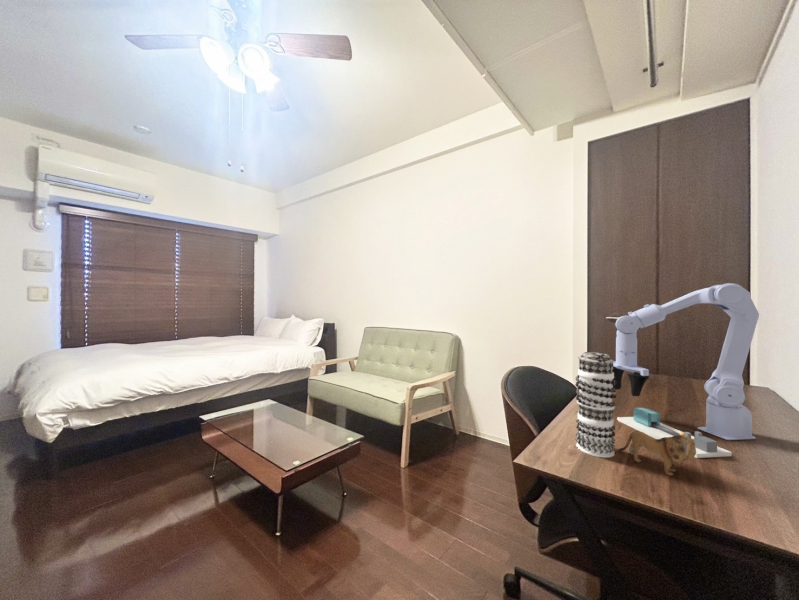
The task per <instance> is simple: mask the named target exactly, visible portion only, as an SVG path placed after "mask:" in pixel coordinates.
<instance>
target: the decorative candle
mask: <svg viewBox="0 0 799 600" xmlns="http://www.w3.org/2000/svg"><path fill="white" fill-rule="evenodd" d="M577 359H578V367H579V368H578V369H577V376H575V381H576V382H575V385H574V386H576V388H577V389H576V390H575V394H576V396H575V399H576V403H577V404H578V412H577V418H576V419H575V422H576V423H577V424H576V426H575V428H576V429H577V430H576V432H575V435H576V438H575V441H576V445H575V446H576V448H577V447H578V448H577V449H578V450H579V449H580V450H579V451H580V452H582V453H584V454H586V455H589V456H593V457H596V458H612V457H614V456H615V450H616V445H615V444H616V439H615V438H614V437H615V436H616V432H615V430H616V426H615V425H614V417H613V416H614V414H613V413H614V411H613V410H615V408H616V403H615V402H614V401H613V400H614V399H616V398H617V395H616V394H614V393H616V392H617V389H615V388H614V387H613V385H612V384H617V381H615V380H612V379H615V376H614V372H613V362H614V361H615V360H614V359H612V358H611V357H610V355H609V354H607V353H603V352H597V351H596V352H595V351H585V352H583V353H582V354H581V355H580V356H578V357H577Z"/></svg>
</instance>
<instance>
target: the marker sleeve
mask: <svg viewBox="0 0 799 600" xmlns="http://www.w3.org/2000/svg"><path fill="white" fill-rule="evenodd" d="M633 416H634V420H635V421H638V422H640V423H642V424H644V425H647V426H651V422H654V423H656V424H658V425H660V423H661V413H660V412H657V411H655V410H652V409H650V408H648V407H633Z"/></svg>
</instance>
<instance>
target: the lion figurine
mask: <svg viewBox="0 0 799 600" xmlns="http://www.w3.org/2000/svg"><path fill="white" fill-rule="evenodd" d="M631 442H632V443H631ZM630 443H631V444H630ZM628 447H629V453H630V455H633V458H634V461H636V462H637V463H641V462H642V459H641V458H639V457H638V452H639V450H640V448H641V447H643V448H645V449H646V450H647V452H649V453H650V454H652V455H654V456H657V457H660V458H662V461H663V465H664V466H663V467H664V468H663V469H664V472H665V474H666V475H667V476H673V475H674V472H676V469H675V468H674V467H673V463H679V464H681V463H683V462H684V461H687V460H691V459H693V458H695V457H694V456H695V455H696V448H695V441H693V440H692V439H691V438H690V437H688V436H686V435H676V436H672V437H664V438H661V439H655V438H653V437H651V436H649V435H647V434H645V433H643V432H640V431H638V430H634V431H632V432H631V433H630V434H629V436H628V438H627V441H626V444H625V446H623V447H621V448H618V451H620V452H623V451H626V450H627V448H628Z"/></svg>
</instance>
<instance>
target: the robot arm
mask: <svg viewBox="0 0 799 600" xmlns="http://www.w3.org/2000/svg"><path fill="white" fill-rule="evenodd" d="M698 304H712V305H713V306H715V307H718V308H719V309H721V310H722V311H724V312H725V313H726V314H727V316H729V318H730V321H729V325H728V328H727V330H726V335H725V337H724V338H725V339H724V341H723V345H722V348H721V353H720V355H719V360H718V363H717V367H716V369H715V370H714V371H712V374H711V376H710V378H709V379H708V380H707V381H706V382H705V383H704V386H703V387H704V390H705V392H706V393H707V395H708V397H707V398H706V401H705V402H706V404H705V405H706V406H705V411H706V412H705V415H706V417H705V418H706V419H705V426H698V427H697V429H698V430H701V431H702V432H705V433H708V434H711V435H713V436H715V437H719V438H721V439H723V440H726V441H738V440H756V439H757V437H756V436H754V435H753V414H752V412H751V411H750V410H749V408H748V407H746V406H745V405H743V403H744V402H745V401H746V394H745V392H744V386H745V382H744V381H745V380H744V379H743V373H744V369H745V365H746V362H747V358H748V356H749V352H750V348H751V344H752V341H753V338H754V336H755V332H756V331H755V330H756V327H757V323H758V320H759V317H760V312H759V310H758V308H757V307H756V305H755V303H754V301H753V299H752V297H751V292H749V291H748V290H747V289H746V288H744V287H743V286H742V285H740V284H738V283H733V282H726V283H723V284H714V285H712V286H710V287H705V288H701V289H697V290H694V291H692V292H689V293H687V294H685V295H683V296H680V297H677V298H675V299H673V300H670V301H667V302H666V303H664V304H661V305H659V304H654V303H652V304H649V303H647V304H645V305H643V308H642V307H641V308H640V309H637V310H635V311H633V312H632V311H629V312H627V314H628V315H622V316H619V317H617V319H616V321H615V323H614V326H615V328H616V329H617V330H616V337H615V360H613V361H614V362H613V372H614V376H615V379H612V380H615V381H617V384H612V387H614V388H615V389H616V390H621V388H622V379H623V375H624V373H625V371H626V372H629V373H627V377H628V378H629V381H630V387H631V388H630V389H631V390H630V392H631V396H632V397H640V396H641V393H642V389H643V387H644V385H645V383H646V382H647V381H648V379H649V378H650V369H647V368H644V367H641V366H639V365H638V338H637V331H638V330H639V328H640V329H644V328H647V327H649V326H651V325H655V324H658V323H660V322H662V321H665V319H666V316H667V315H669V314H672V313H674V312H677V311H680V310H683V309H686V308H689V307H691V306H694V305H698Z"/></svg>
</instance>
